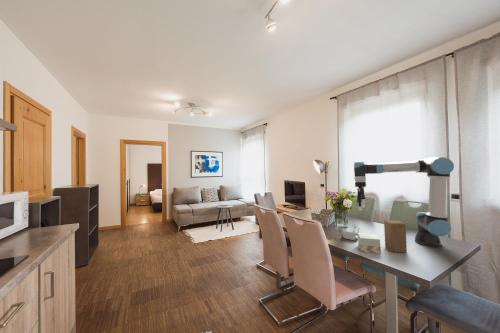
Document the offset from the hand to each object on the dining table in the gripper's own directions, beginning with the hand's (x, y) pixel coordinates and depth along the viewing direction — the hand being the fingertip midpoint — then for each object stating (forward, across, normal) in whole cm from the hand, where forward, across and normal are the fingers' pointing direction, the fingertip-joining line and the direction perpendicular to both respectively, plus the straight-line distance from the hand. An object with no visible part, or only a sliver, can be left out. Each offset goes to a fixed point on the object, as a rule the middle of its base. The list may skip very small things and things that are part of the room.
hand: (361, 209), depth 158 cm
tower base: (+27, +10, +5) cm, 30 cm away
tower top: (+22, +10, +5) cm, 25 cm away
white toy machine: (+27, -11, -9) cm, 31 cm away
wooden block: (+27, +2, +20) cm, 34 cm away
